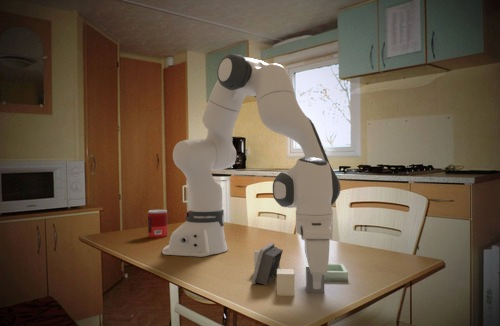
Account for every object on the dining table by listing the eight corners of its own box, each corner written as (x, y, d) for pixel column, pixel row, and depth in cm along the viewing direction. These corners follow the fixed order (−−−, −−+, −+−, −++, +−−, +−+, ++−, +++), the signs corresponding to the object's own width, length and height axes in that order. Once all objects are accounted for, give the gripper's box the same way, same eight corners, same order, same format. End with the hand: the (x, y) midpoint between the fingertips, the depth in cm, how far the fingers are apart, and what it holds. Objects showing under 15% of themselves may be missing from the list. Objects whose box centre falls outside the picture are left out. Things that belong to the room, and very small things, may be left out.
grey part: (307, 292, 88) (306, 271, 88) (306, 287, 92) (305, 266, 92) (324, 293, 87) (324, 271, 87) (322, 287, 91) (322, 267, 91)
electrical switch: (263, 274, 102) (266, 241, 102) (281, 278, 100) (284, 244, 100) (250, 285, 94) (253, 248, 93) (270, 289, 92) (272, 252, 91)
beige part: (277, 295, 86) (276, 273, 86) (277, 289, 90) (277, 268, 90) (294, 295, 86) (294, 274, 86) (294, 289, 90) (293, 269, 90)
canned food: (171, 235, 159) (170, 210, 159) (157, 239, 152) (156, 212, 152) (158, 234, 163) (158, 209, 163) (144, 237, 156) (143, 211, 156)
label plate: (254, 272, 104) (254, 251, 104) (254, 272, 105) (254, 250, 105) (279, 273, 103) (279, 251, 103) (279, 272, 104) (279, 250, 104)
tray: (316, 280, 96) (316, 272, 96) (313, 271, 104) (313, 263, 104) (348, 280, 96) (347, 272, 96) (342, 271, 104) (342, 263, 104)
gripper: (298, 218, 100) (299, 269, 100) (303, 232, 80) (304, 297, 80) (322, 218, 100) (323, 270, 100) (333, 232, 79) (334, 298, 79)
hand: (315, 282), depth 89 cm, fingers open, 7 cm apart
